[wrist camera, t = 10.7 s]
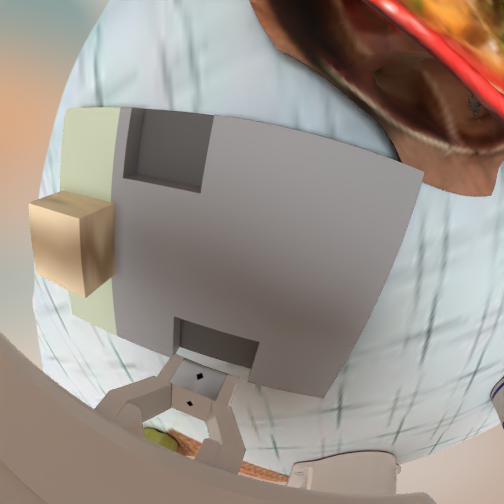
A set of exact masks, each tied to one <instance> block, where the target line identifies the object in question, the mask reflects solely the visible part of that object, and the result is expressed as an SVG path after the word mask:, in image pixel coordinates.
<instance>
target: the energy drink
mask: <svg viewBox="0 0 504 504" xmlns="http://www.w3.org/2000/svg"><path fill="white" fill-rule="evenodd" d="M491 400H492V402H493V404H494V407H495V409H496V411H497V414H498V416H499V418H500V421H501V423H502V426H503V429H504V377H503V378H502V379H501V380H500V381H499V382H498V383H497V384H496V386H495V387H494V389H493V390H492V393H491Z"/></svg>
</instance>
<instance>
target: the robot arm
mask: <svg viewBox="0 0 504 504" xmlns="http://www.w3.org/2000/svg"><path fill="white" fill-rule="evenodd" d="M238 380H239V378H238V377H235V376H232V375H229V374H227V373H224V372H221V371H218V370H215V369H212V368H209V367H207V366H203V365H201V364H198V363H196V362H194V361H191V360H189V359H187V358H184V357H182V356H179V355H177V354H174V355H172V356H171V358H170V359H169V361H168V362H167V363H166V365H165V366H164V368H163V369H162V370H161V372H160V373H159V375H158V376H157V377H155V376H152V377H149V378H146V379H143V380H140V381H138V382H135V383H132V384H129V385H126V386H123V387H120V388H116V389H113V390H110V391H109V392H108V393H107V394H106V396H105V397H104V398H103V399H102V401H101V402H100V403H99V404H98V405H97V407H96V408H95V409H93V408H92V407H90V406H89V405H87V404H86V403H84V402H83V401H81V400H80V399H78V398H77V397H75V396H74V395H73V394H71V393H70V392H68V391H67V390H66V389H64V388H63V387H62V386H60V385H59V384H58V383H57V382H55V381H54V380H53V379H51V378H50V377H49V376H48V375H46V374H45V373H44V372H43V371H42V370H40V369H39V368H38V367H37V366H36V365H35V364H33V363H32V362H31V361H30V360H29V359H28V358H27V357H26V356H24V354H22V353H21V352H20V351H19V350H18V349H17V348H16V347H15V346H14V345H13V344H12V343H11V342H10V341H9V340H8V339H7V338H6V337H5V336H4V335H3V334H2V333H1V332H0V504H436V503H435V502H434V500H433V499H432V498H431V497H430V496H429V495H428V494H426V493H409V494H408V493H407V494H396V475H397V474H399V473H400V468H401V467H400V466H399V465H397V464H396V458H395V457H394V456H393V455H391V454H389V453H385V452H356V453H348V454H342V455H337V456H333V457H329V458H325V459H322V460H318V461H313V462H302V463H296V464H294V465H293V468H292V470H291V473H290V476H289V478H288V481H287V483H286V486H283V485H278V484H273V483H269V482H264V481H260V480H256V479H252V478H248V477H245V476H241V475H238V472H239V469H240V466H241V463H242V460H243V457H244V454H245V451H246V449H245V446H244V443H243V440H242V438H241V435H240V432H239V429H238V426H237V423H236V420H235V417H234V414H233V411H232V408H231V407H230V404H231V401H232V398H233V396H234V393H235V390H236V386H237V383H238ZM171 407H172V408H174V409H177V410H179V411H182V412H184V413H187V414H189V415H192V416H194V417H196V418H199V419H201V420H204V421H206V423H207V428H208V433H209V437H210V439H209V438H207V439H204V441H203V443H202V445H201V447H200V449H199V451H198V453H197V455H196V457H195V460H193V459H191V458H188V457H185V456H183V455H181V454H178V453H176V452H174V451H171V450H169V449H167V448H164V447H162V446H160V445H158V444H156V443H154V442H152V441H150V440H148V439H146V438H144V431H143V425H142V423H143V422H145V421H147V420H149V419H151V418H153V417H155V416H157V415H159V414H160V413H162V412H164V411H166V410H168V409H170V408H171Z"/></svg>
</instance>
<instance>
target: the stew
mask: <svg viewBox="0 0 504 504" xmlns="http://www.w3.org/2000/svg"><path fill="white" fill-rule="evenodd" d="M250 3H251V5H252V7H253V10H254V12H255V14H256V16H257V18H258V19H259V21H260V23H261V25H262V26H263V28H264V30H265V31H266V33H267V34H268V36H269V37H270V39H271V40H272V42H273V43H274V45H275V46H276V47H277V49H278V50H280V51H282V52H284V53H286V54H288V55H290V56H292V57H294V58H295V59H297V60H299V61H301V62H302V63H304V64H306V65H307V66H309V67H310V68H312V69H314V70H315V71H317V72H318V73H320V74H321V75H322V76H324V77H325V78H326V79H327V80H329V81H330V82H331V83H332V84H333V85H335V86H336V87H337V88H338V89H339V90H341V91H342V92H343V93H344V94H346V95H347V96H348V97H349V98H351V99H352V100H353V101H354V102H355V103H356V104H357V105H358V106H360V107H361V108H362V109H363V110H365V111H366V112H367V113H368V114H370V115H371V116H372V117H373V118H374V119H375V120H376V121H377V122H378V123H379V124H380V125H381V126H382V127H383V129H384V130H385V132H386V133H387V135H388V136H389V138H390V139H391V141H392V142H393V144H394V146H395V148H396V150H397V152H398V154H399V157H400V159H401V161H402V163H404V164H406V165H409V166H411V167H414V168H416V169H418V170H421V171H423V172H424V176H423V180H422V181H423V182H425V183H427V184H429V185H432V186H434V187H437V188H439V189H442V190H444V189H445V190H446V191H448V192H451V193H455V194H459V195H464V196H474V197H479V196H491V195H492V192H493V190H494V187H495V183H496V178H497V173H498V169H499V167H500V165H501V163H502V162H503V161H504V0H250ZM472 96H474V97H475V98H476V99H477V100H478V101H479V102H480V103H481V105H479V106H480V108H479V111H478V114H477V115H475V114H473V113H472V111H471V109H470V105H469V98H470V97H472Z"/></svg>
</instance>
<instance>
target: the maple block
mask: <svg viewBox="0 0 504 504" xmlns="http://www.w3.org/2000/svg"><path fill="white" fill-rule="evenodd" d="M29 218H30V229H31V239H32V247H33V254H34V261H35V267H36V273H37V274H39V275H40V276H42V277H44V278H46V279H48V280H50V281H52V282H53V283H55V284H57V285H59V286H61V287H63V288H65V289H67V290H69V291H71V292H73V293H75V294H77V295H79V296H81V297H83V298H87V297H88V296H89V295H90V294H92V293H93V292H94V291H95V290H96V289H98V288H99V287H100V286H101V285H102V284H104V283H105V282H106V281H107V280H109V279H110V278H111V277H112V276H114V275H115V257H114V226H115V203H113V202H108V201H104V200H100V199H96V198H92V197H88V196H83V195H79V194H75V193H71V192H66V191H61V192H58V193H55V194H52V195H49V196H46V197H44V198H41V199H38V200H36V201H33V202H30V203H29Z"/></svg>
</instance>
